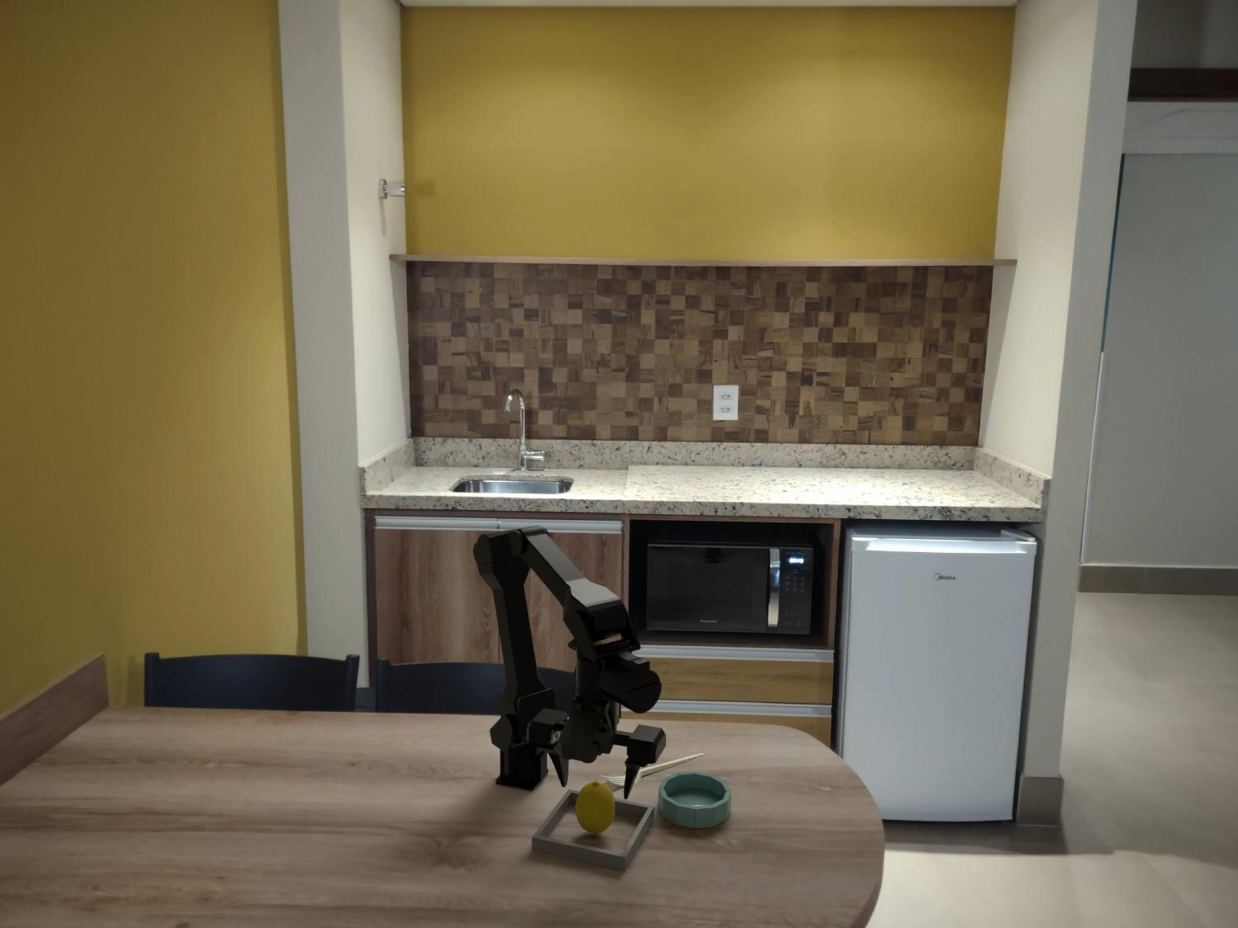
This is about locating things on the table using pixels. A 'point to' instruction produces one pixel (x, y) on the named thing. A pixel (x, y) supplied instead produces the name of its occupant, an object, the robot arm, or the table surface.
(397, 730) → the table surface
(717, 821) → the bowl
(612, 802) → the lemon
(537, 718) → the robot arm
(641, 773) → the fork
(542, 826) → the parts tray
